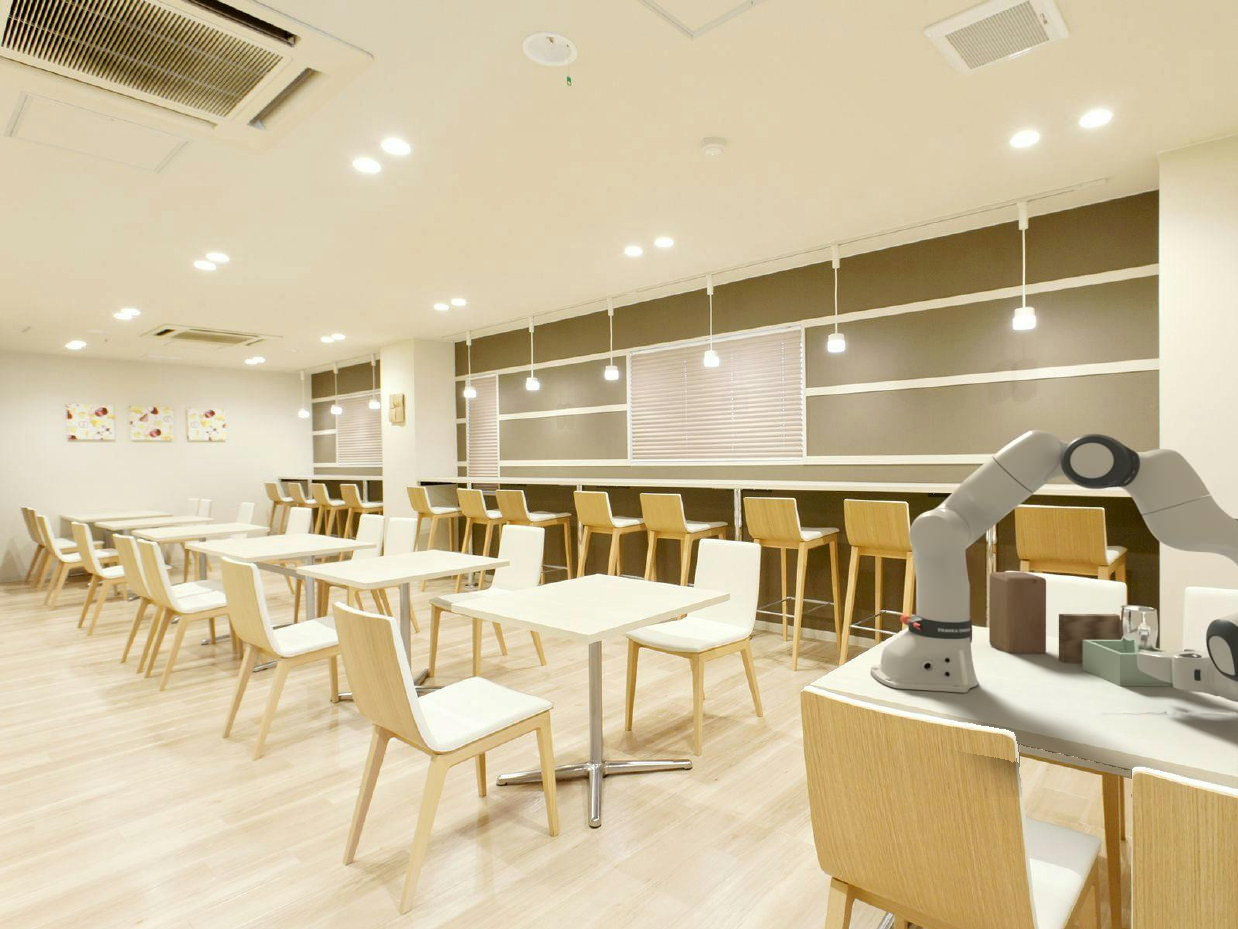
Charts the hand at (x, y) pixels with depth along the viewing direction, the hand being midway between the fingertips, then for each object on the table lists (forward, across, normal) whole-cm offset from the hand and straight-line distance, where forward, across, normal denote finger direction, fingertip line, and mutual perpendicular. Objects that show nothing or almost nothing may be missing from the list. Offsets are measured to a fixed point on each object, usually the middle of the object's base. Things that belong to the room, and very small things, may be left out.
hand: (1164, 653), depth 143 cm
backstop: (+13, 0, +9) cm, 16 cm away
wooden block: (+34, +11, +9) cm, 37 cm away
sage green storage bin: (+10, 0, +8) cm, 13 cm away
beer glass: (+10, -2, +8) cm, 12 cm away
